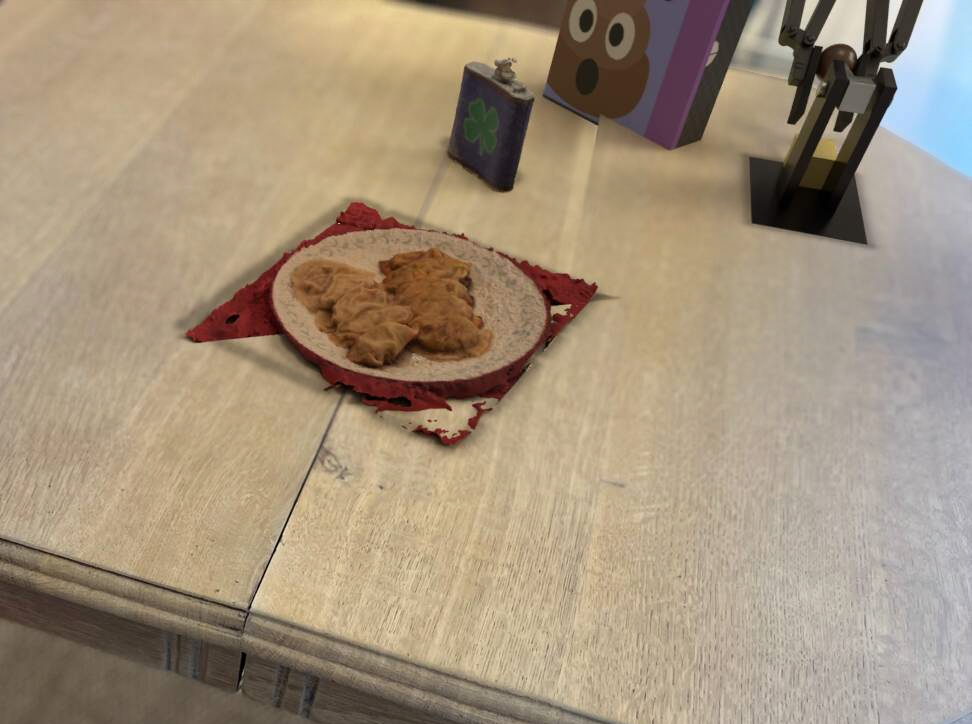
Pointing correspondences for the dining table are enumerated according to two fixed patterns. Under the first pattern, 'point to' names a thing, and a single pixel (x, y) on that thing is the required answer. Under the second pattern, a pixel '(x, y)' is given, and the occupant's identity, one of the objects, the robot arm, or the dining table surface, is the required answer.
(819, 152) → the butter
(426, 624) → the dining table surface
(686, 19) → the cereal box
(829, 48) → the slicer arm
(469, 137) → the flask
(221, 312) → the plate with food
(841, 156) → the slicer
